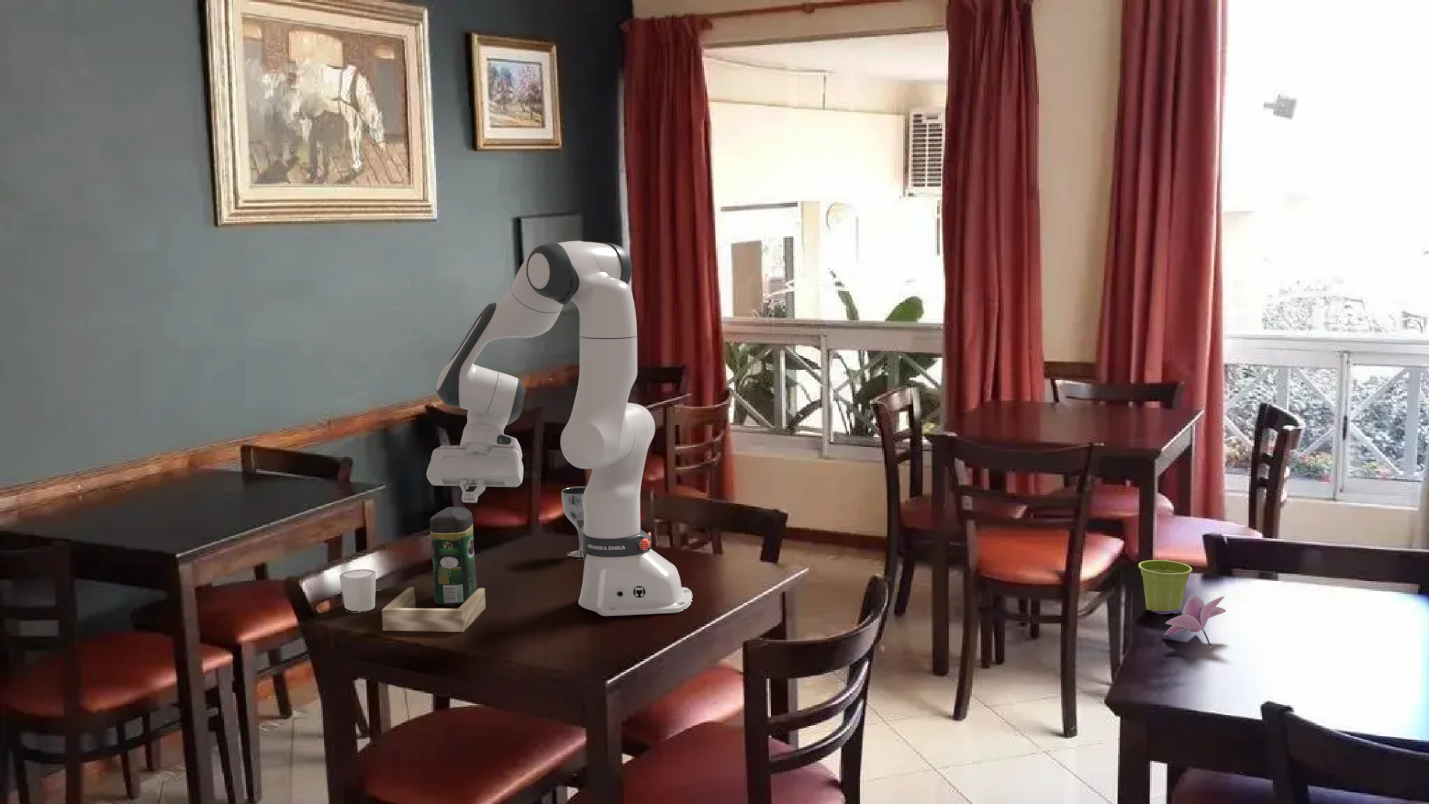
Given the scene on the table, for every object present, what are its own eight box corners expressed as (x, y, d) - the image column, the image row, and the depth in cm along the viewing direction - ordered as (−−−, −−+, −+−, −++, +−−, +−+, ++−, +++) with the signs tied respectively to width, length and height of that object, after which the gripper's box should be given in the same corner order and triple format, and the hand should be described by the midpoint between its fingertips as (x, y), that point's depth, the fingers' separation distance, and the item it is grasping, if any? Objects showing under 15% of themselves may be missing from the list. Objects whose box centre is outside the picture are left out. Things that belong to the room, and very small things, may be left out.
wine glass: (564, 551, 281) (561, 487, 279) (599, 549, 282) (596, 485, 279) (563, 560, 273) (561, 494, 271) (599, 558, 274) (597, 493, 272)
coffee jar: (442, 592, 251) (438, 504, 248) (480, 592, 250) (476, 503, 248) (429, 607, 241) (424, 515, 239) (468, 607, 241) (464, 515, 238)
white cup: (383, 602, 245) (381, 568, 244) (370, 613, 238) (368, 578, 237) (350, 602, 246) (347, 568, 244) (336, 613, 239) (333, 578, 238)
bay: (485, 607, 240) (484, 588, 239) (463, 631, 226) (462, 610, 226) (409, 606, 242) (408, 587, 241) (383, 630, 228) (381, 609, 227)
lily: (1236, 644, 215) (1215, 591, 217) (1250, 640, 203) (1228, 584, 206) (1169, 664, 216) (1148, 611, 219) (1179, 661, 205) (1158, 605, 208)
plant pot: (1145, 600, 237) (1146, 557, 235) (1196, 608, 231) (1197, 564, 230) (1130, 613, 229) (1132, 568, 228) (1182, 622, 224) (1184, 576, 222)
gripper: (430, 437, 262) (416, 492, 254) (523, 438, 260) (512, 494, 252) (438, 453, 267) (424, 508, 259) (529, 455, 265) (519, 510, 257)
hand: (468, 501), depth 256 cm, fingers closed
